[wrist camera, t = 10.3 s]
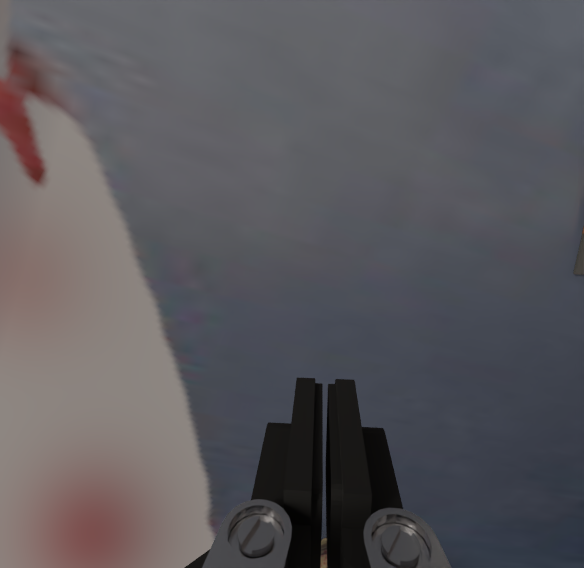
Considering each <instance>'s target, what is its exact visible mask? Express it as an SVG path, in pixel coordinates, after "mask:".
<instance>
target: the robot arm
mask: <svg viewBox="0 0 584 568" xmlns="http://www.w3.org/2000/svg"><path fill="white" fill-rule="evenodd" d="M322 486H323V463H322V384H318V383H315V378H297V381H296V389H295V397H294V406H293V414H292V422H291V424H287V423H268V424H267V428H266V433H265V437H264V442H263V447H262V451H261V456H260V461H259V465H258V470H257V475H256V479H255V484H254V489H253V493H252V498H251V500H250V501H246V502H244V503H242V504H240V505H238V506H236V507H235V508H234V509H233V510H231V511H230V512H229V513H228V514H227V516H226V518H225V519H224V521H223V522H222V524H221V527H220V529H219V531H218V533H217V536H216V538H215V540H214V542H213V545H212V547H211V549H210V550H209V551H207V552H206V553H205V554H203V555H202V556H200V557H199V558H197V559H196V560H195V561H193V562H192V563H190V564H189V565H188V566H186V567H185V568H320V567H321V531H322ZM326 527H327V568H451V566H450V564H449V562H448V560H447V557H446V555H445V553H444V551H443V549H442V547H441V545H440V543H439V540H438V538H437V537H436V535H435V533H434V532H433V530H432V529H431V527H430V526H429V525H428V524H427V523H426V522H425V521H424V520H423V519H422V518H420V517H418V516H417V515H415V514H413V513H412V512H409V511H406V510H403V507H402V502H401V498H400V494H399V490H398V486H397V481H396V477H395V473H394V469H393V465H392V460H391V456H390V452H389V448H388V444H387V439H386V435H385V432H384V429H383V428H370V427H362V426H361V420H360V413H359V407H358V400H357V394H356V387H355V381H354V380H344V379H336V380H335V384H328V405H327V439H326Z"/></svg>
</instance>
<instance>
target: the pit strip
mask: <svg viewBox="0 0 584 568" xmlns="http://www.w3.org/2000/svg"><path fill="white" fill-rule="evenodd" d="M573 274H581V275H584V234H582V238H581V242H580V247H579V251H578V255H577V260H576V264H575V268H574V273H573Z"/></svg>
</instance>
